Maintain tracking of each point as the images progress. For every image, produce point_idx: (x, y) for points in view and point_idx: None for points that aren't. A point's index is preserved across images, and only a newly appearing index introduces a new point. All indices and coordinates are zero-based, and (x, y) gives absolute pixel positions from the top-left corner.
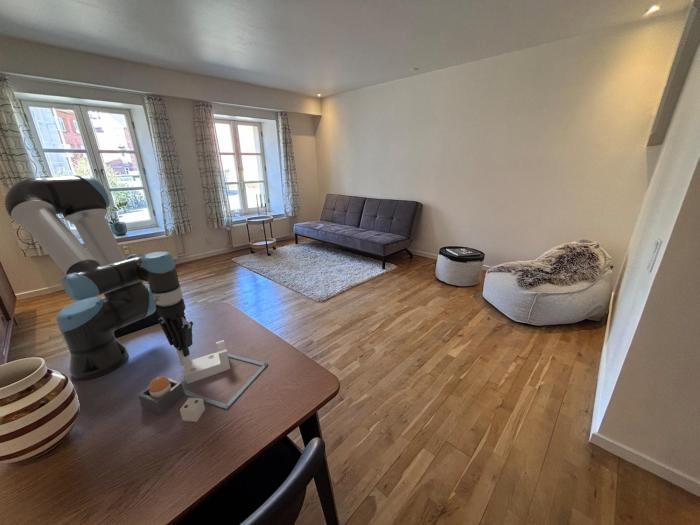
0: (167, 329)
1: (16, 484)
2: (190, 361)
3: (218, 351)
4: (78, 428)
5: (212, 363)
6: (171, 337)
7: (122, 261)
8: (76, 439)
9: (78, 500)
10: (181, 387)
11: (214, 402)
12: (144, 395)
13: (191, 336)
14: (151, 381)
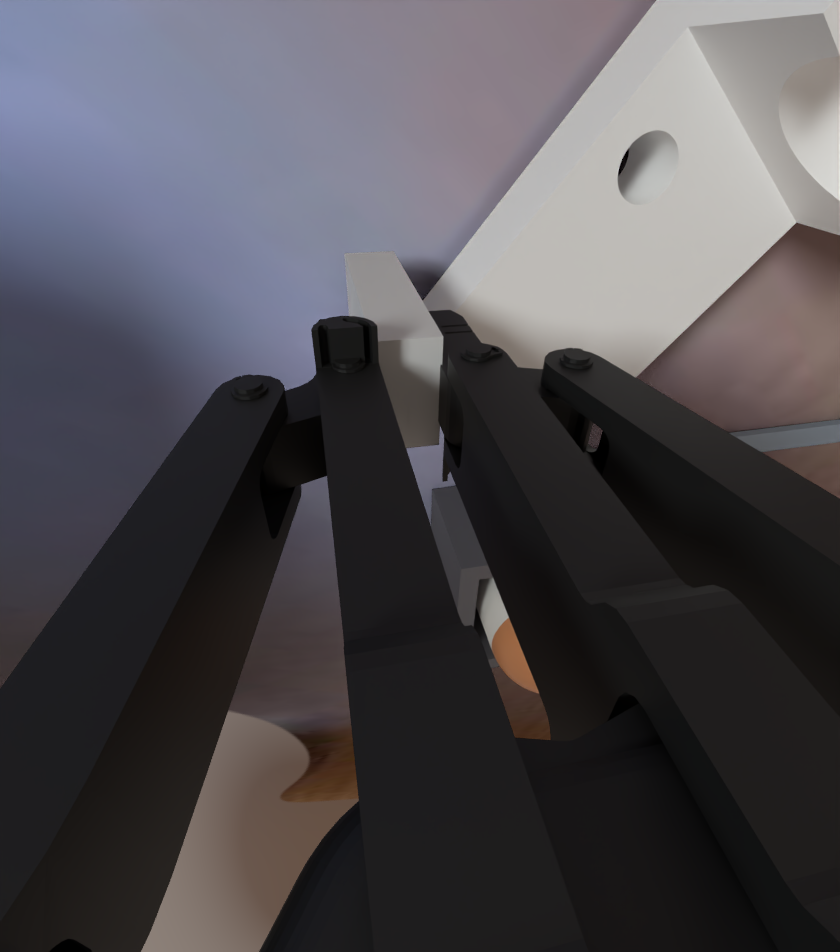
0: (203, 727)
1: (345, 791)
2: (471, 322)
3: (787, 102)
4: (275, 719)
5: (712, 252)
6: (267, 539)
7: None
8: (329, 725)
9: (542, 733)
10: None
11: (782, 441)
12: (492, 663)
13: (736, 455)
14: (534, 691)
